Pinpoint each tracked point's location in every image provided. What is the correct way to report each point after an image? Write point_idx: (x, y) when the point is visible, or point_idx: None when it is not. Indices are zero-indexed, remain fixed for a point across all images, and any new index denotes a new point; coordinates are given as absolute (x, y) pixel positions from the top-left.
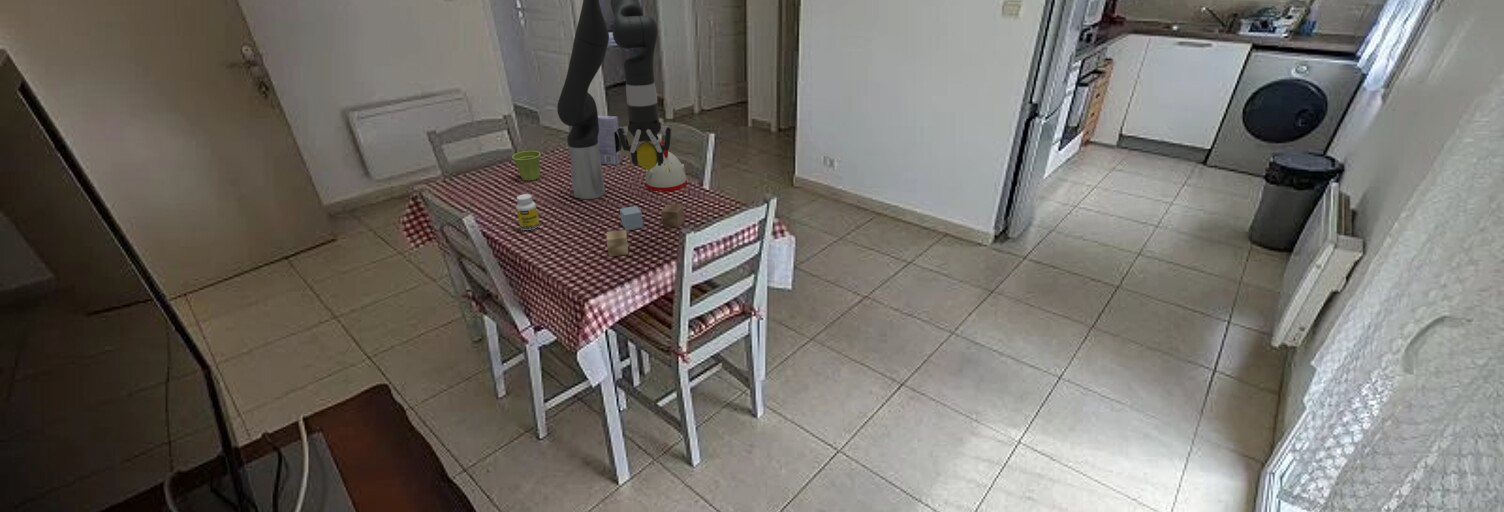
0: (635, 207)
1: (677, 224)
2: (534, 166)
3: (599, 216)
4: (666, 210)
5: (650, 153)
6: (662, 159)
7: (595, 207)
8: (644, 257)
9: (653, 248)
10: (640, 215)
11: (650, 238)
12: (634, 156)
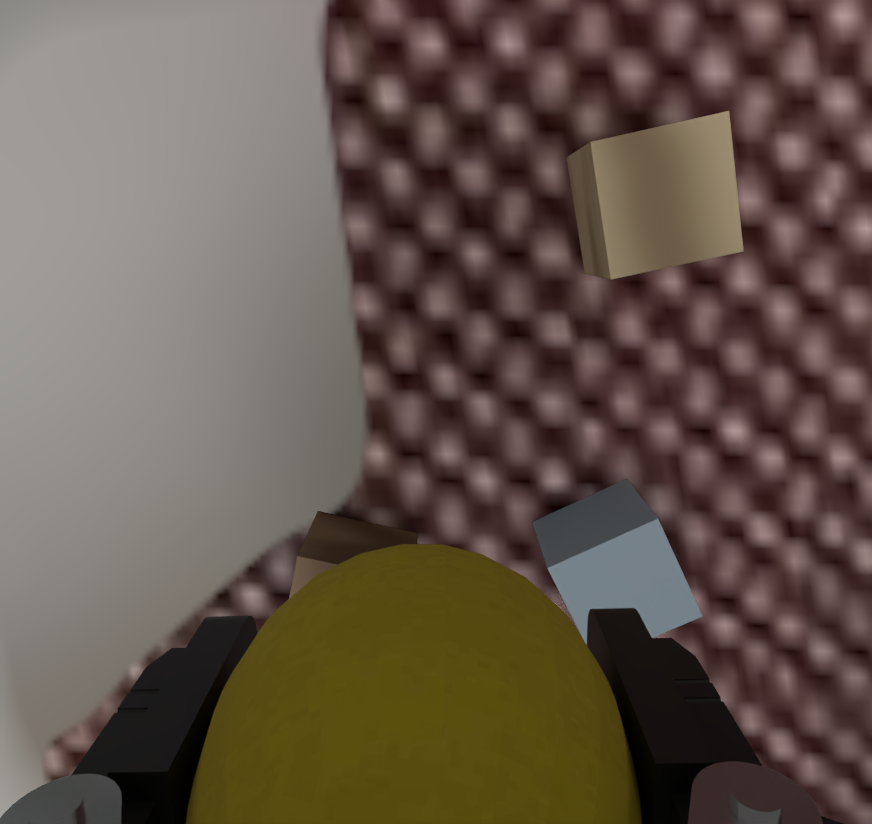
0: None
1: (319, 521)
2: None
3: (815, 664)
4: None
5: (283, 692)
6: (135, 694)
7: (854, 777)
8: (456, 115)
9: (421, 240)
10: (551, 553)
11: (463, 375)
12: (671, 710)
